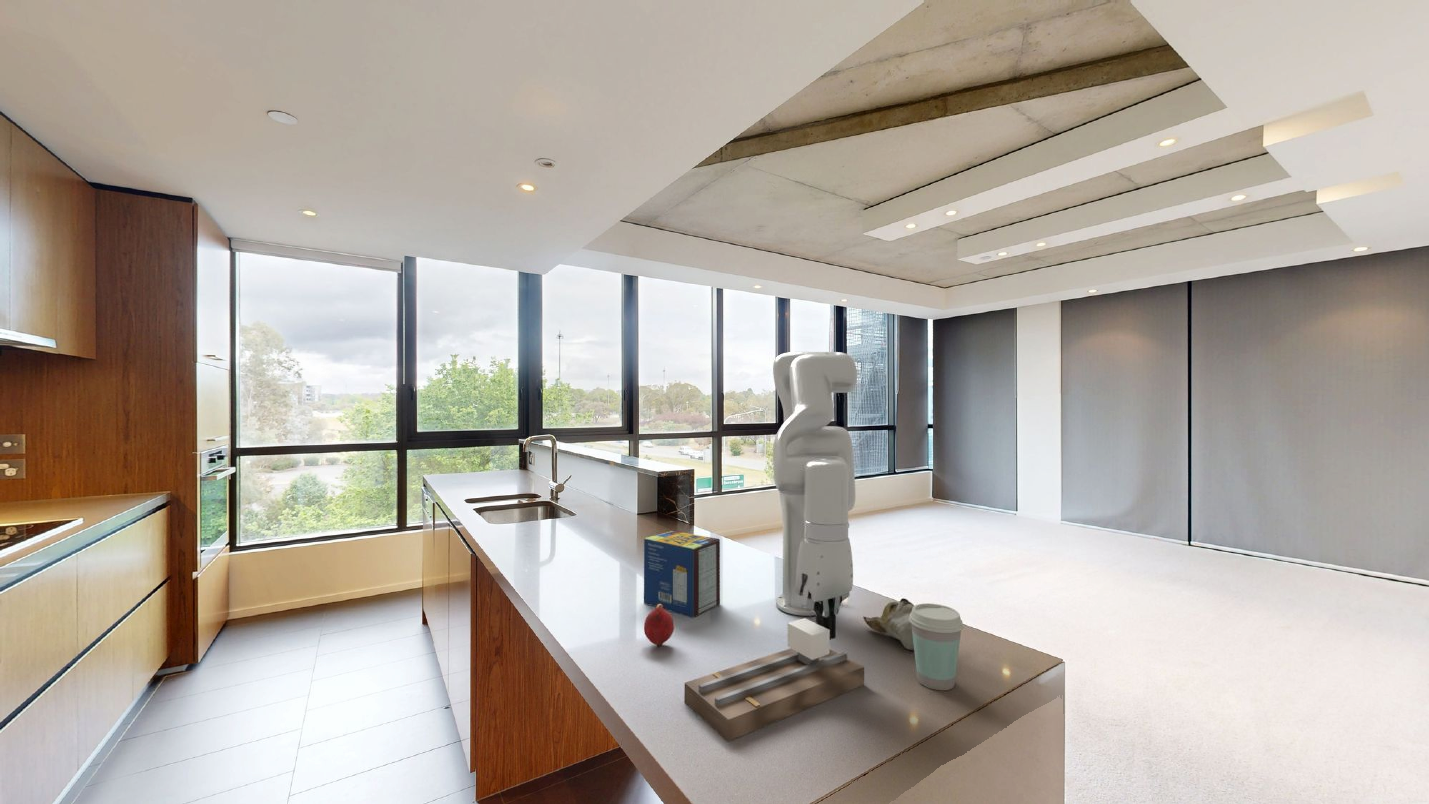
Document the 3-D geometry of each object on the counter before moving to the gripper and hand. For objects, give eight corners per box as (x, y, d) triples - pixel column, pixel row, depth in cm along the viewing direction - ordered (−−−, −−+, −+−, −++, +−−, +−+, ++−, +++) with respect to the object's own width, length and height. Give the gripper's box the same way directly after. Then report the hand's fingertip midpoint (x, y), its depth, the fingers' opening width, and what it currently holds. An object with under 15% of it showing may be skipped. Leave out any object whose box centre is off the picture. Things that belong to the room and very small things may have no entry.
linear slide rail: (813, 656, 101) (813, 635, 101) (864, 684, 91) (864, 660, 91) (684, 701, 85) (684, 676, 85) (728, 741, 75) (728, 712, 75)
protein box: (670, 591, 136) (671, 529, 136) (720, 604, 127) (721, 538, 127) (642, 603, 128) (642, 537, 128) (693, 618, 119) (693, 548, 119)
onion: (668, 653, 102) (669, 611, 102) (639, 650, 103) (640, 608, 103) (677, 640, 107) (677, 600, 107) (649, 638, 109) (649, 598, 109)
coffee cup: (960, 674, 94) (960, 605, 95) (965, 699, 86) (966, 624, 86) (908, 666, 97) (908, 599, 97) (909, 689, 89) (909, 616, 89)
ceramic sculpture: (900, 611, 100) (859, 589, 115) (901, 659, 100) (860, 631, 114) (949, 607, 103) (904, 586, 117) (951, 653, 102) (905, 627, 117)
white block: (804, 652, 95) (804, 618, 95) (829, 665, 90) (829, 629, 90) (787, 657, 93) (787, 623, 93) (812, 672, 88) (812, 635, 88)
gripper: (839, 522, 102) (839, 620, 101) (779, 532, 93) (779, 639, 93) (871, 530, 95) (871, 634, 95) (810, 541, 87) (809, 655, 87)
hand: (825, 636), depth 94 cm, fingers closed
